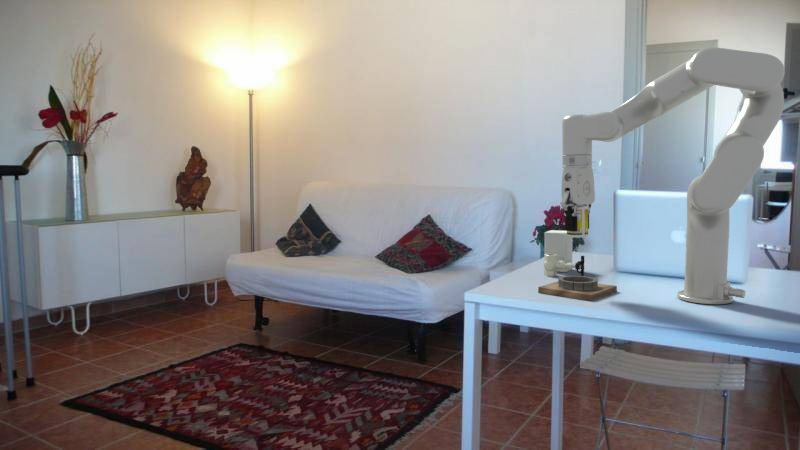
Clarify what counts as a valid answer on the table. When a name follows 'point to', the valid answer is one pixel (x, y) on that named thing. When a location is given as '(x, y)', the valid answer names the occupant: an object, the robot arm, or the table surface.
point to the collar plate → (578, 293)
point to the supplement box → (558, 246)
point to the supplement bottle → (580, 222)
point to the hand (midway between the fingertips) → (577, 229)
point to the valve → (560, 265)
